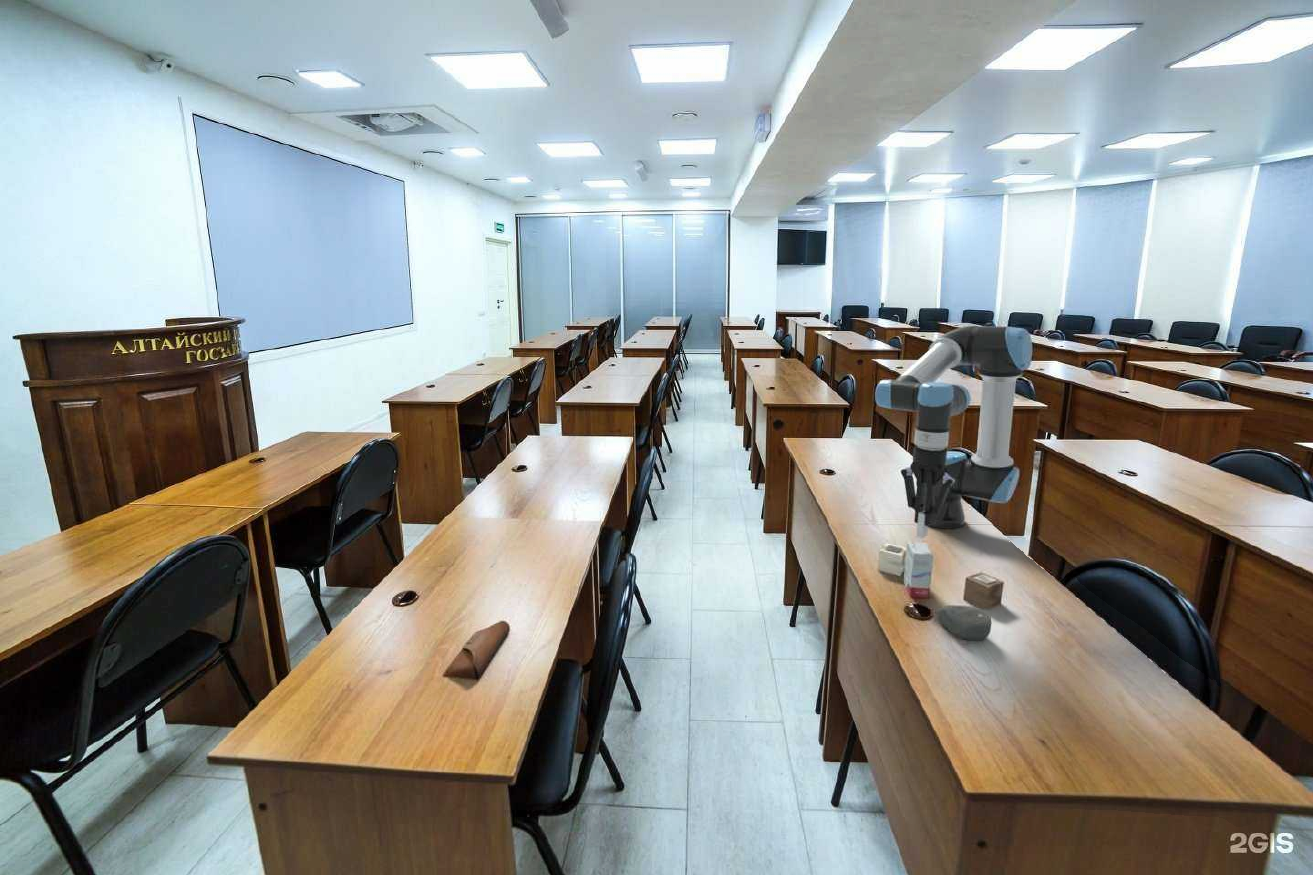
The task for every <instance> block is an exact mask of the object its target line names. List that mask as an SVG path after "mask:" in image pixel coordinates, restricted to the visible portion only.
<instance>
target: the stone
mask: <svg viewBox="0 0 1313 875" xmlns="http://www.w3.org/2000/svg"><path fill="white" fill-rule="evenodd" d="M937 617H938V621H939V623H940V624H941V625H942V626H943V627H945V628H946V629H947V630H948V631H949V632H951V633H952V634H954V636H956V637H958V638H960V639H961V640H965V641H983V640H986V639H987V638H988V636H989V635H990V633H991V630H992V618H991V616H990V615H989V613H987V612H986V611H984V609H983V608H981V607H978V606H977V607H975V606H970V605H951V604H950V605H942V606H940V607H939V609H938V613H937Z"/></svg>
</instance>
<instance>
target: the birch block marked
mask: <svg viewBox="0 0 1313 875" xmlns="http://www.w3.org/2000/svg"><path fill="white" fill-rule="evenodd" d="M906 550H907V547H904V546H900V545H895V544H891V543H887V542H886V543H885V544H884V545H883V546H882V547H880V548H879V550H878V559H877V560H878V562H877V571H879V572H884V573H887V574H891V575H896V576H899V577H901V575H902V574H903V573H904V572H905V561H906Z"/></svg>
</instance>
